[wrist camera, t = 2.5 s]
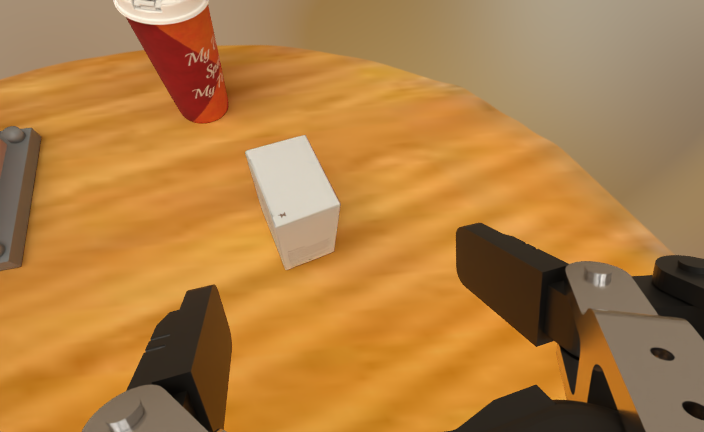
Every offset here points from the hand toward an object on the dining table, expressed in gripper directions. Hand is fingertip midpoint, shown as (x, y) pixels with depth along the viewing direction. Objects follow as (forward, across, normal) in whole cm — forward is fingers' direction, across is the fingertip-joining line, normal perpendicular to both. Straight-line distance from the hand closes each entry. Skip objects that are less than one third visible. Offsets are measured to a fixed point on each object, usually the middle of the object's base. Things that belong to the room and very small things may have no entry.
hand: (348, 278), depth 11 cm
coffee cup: (+39, +8, -7) cm, 41 cm away
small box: (+25, 0, +8) cm, 26 cm away
